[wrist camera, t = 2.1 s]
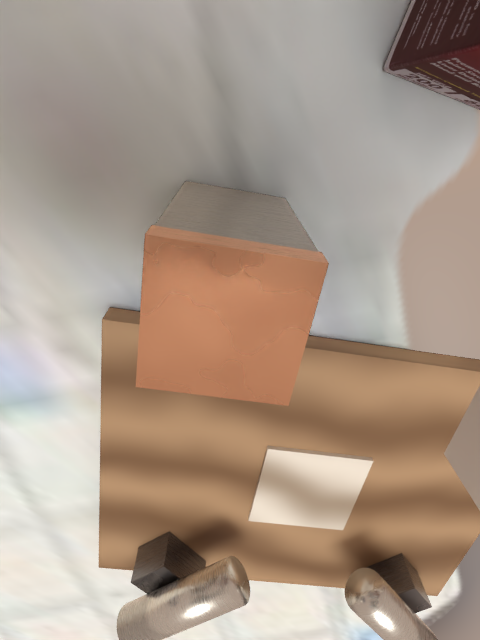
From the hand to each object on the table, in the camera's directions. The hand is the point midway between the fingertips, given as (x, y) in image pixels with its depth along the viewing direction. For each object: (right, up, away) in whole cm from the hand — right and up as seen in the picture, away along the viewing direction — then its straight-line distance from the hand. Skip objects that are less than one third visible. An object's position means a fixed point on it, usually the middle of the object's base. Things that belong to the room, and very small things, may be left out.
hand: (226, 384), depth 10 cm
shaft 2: (+11, -17, +21) cm, 30 cm away
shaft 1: (-4, -15, +20) cm, 25 cm away
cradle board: (+5, -9, +19) cm, 21 cm away
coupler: (0, +6, +11) cm, 12 cm away
